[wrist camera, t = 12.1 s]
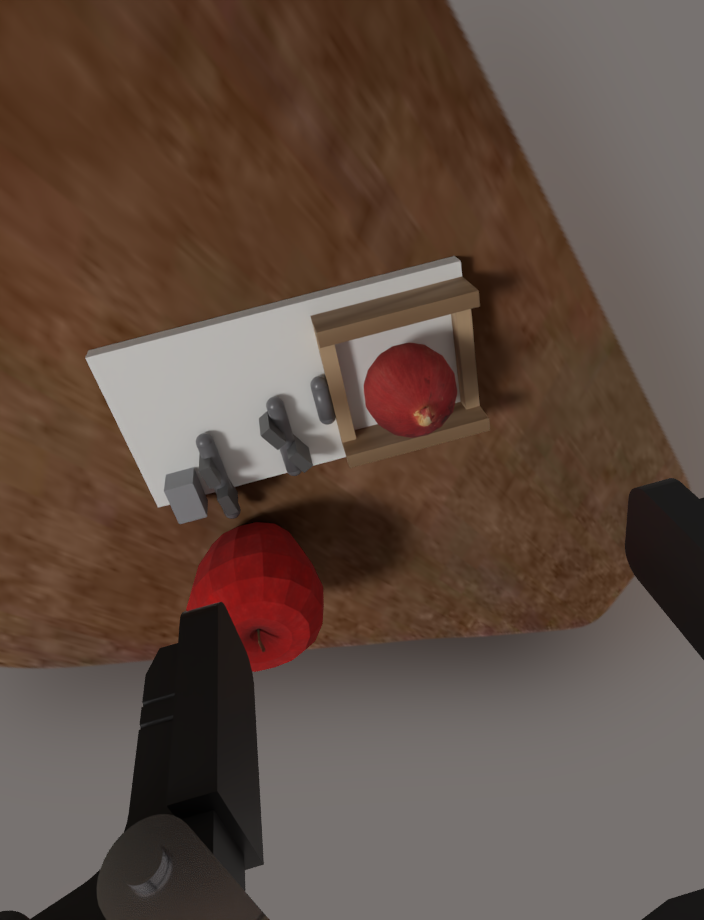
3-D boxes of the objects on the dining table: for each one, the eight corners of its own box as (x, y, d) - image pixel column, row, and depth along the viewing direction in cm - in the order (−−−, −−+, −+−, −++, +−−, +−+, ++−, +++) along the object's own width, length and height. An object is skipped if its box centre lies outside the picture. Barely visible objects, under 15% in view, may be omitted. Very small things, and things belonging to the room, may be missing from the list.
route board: (88, 350, 38) (77, 374, 35) (454, 256, 39) (473, 271, 36) (169, 519, 46) (166, 550, 43) (473, 437, 47) (489, 462, 44)
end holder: (310, 315, 39) (316, 332, 36) (462, 276, 39) (478, 290, 36) (342, 445, 44) (349, 468, 42) (474, 410, 45) (490, 430, 42)
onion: (454, 353, 42) (498, 406, 35) (403, 418, 44) (436, 480, 37) (387, 309, 39) (421, 358, 33) (337, 380, 41) (359, 439, 35)
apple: (242, 474, 45) (248, 575, 36) (337, 531, 50) (363, 633, 41) (165, 559, 48) (153, 672, 39) (262, 605, 53) (271, 716, 44)
